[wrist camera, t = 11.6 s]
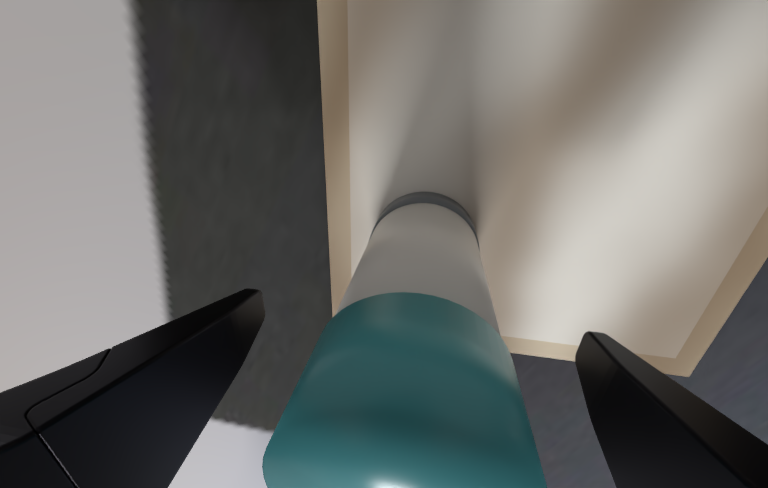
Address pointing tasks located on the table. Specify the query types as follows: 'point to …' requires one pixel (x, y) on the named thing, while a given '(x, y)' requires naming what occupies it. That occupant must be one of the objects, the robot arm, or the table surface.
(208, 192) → the table surface
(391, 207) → the cylinder
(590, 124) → the picture frame
